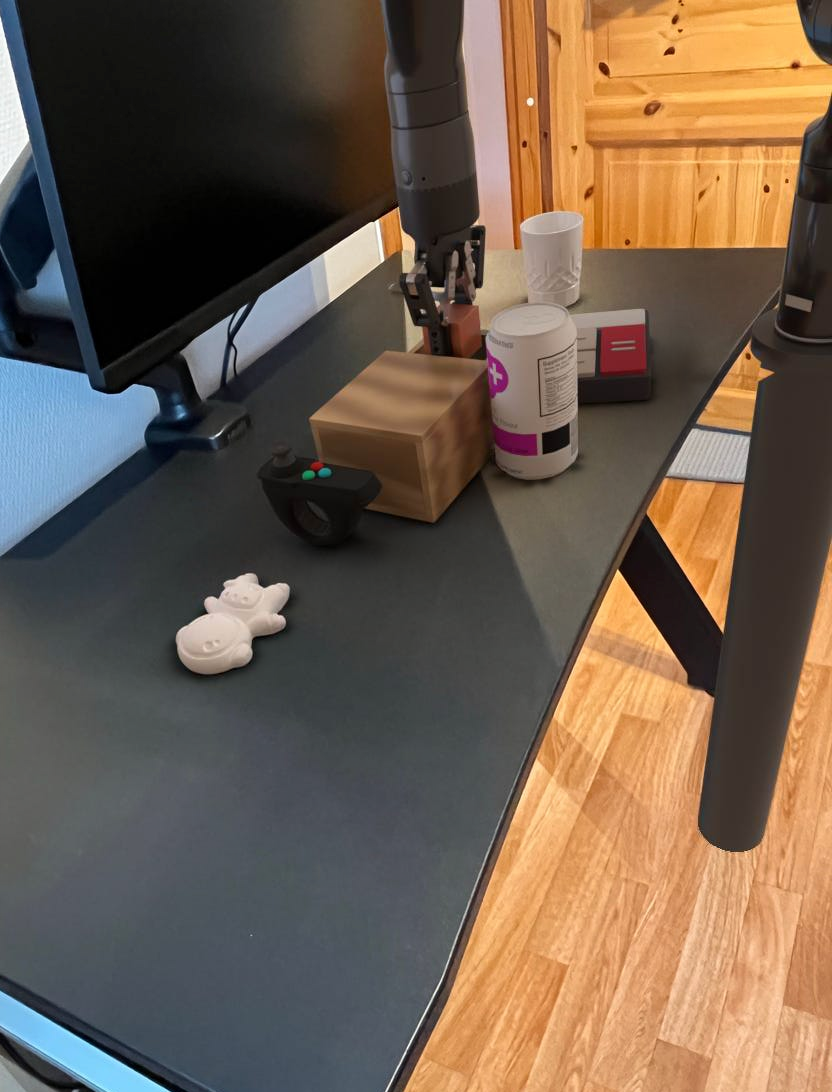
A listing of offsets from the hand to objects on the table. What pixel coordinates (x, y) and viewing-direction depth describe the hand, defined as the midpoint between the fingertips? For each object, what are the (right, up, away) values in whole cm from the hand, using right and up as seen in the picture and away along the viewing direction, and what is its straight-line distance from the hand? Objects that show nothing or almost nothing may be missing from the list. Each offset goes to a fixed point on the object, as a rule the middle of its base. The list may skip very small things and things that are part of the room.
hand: (454, 346), depth 92 cm
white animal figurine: (-21, -30, -13) cm, 39 cm away
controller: (-13, -21, -6) cm, 25 cm away
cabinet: (-4, -13, 0) cm, 14 cm away
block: (0, -1, +1) cm, 1 cm away
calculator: (+18, 0, +9) cm, 20 cm away
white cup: (+16, +15, +25) cm, 34 cm away
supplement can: (+8, -13, -2) cm, 15 cm away
